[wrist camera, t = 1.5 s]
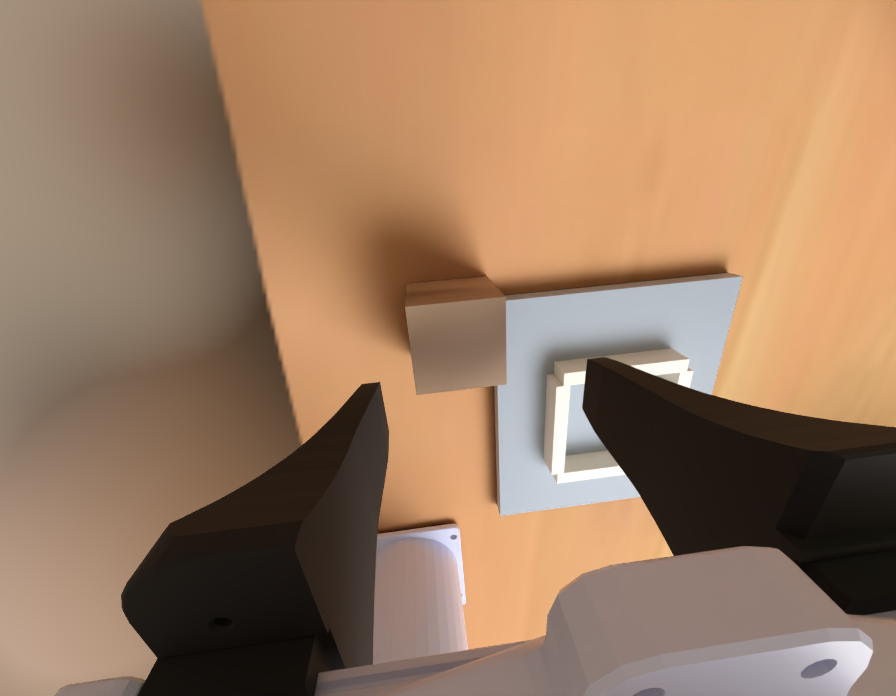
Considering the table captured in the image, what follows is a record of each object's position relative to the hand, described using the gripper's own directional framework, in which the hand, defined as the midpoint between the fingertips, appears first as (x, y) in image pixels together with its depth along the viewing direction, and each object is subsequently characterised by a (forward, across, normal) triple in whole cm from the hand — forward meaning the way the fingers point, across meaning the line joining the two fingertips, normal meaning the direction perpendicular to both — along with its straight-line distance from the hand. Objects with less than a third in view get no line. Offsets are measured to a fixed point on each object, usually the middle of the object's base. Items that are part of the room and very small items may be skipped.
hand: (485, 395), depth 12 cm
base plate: (+8, -9, +7) cm, 14 cm away
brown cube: (+9, 0, 0) cm, 9 cm away
